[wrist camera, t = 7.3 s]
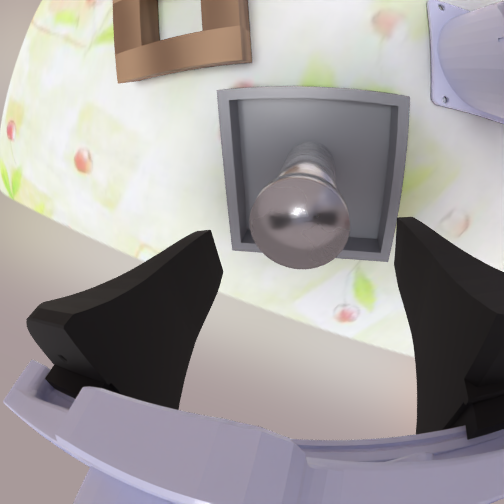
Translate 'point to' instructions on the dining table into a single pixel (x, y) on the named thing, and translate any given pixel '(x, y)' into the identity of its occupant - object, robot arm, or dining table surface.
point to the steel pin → (301, 211)
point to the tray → (330, 136)
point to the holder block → (178, 39)
